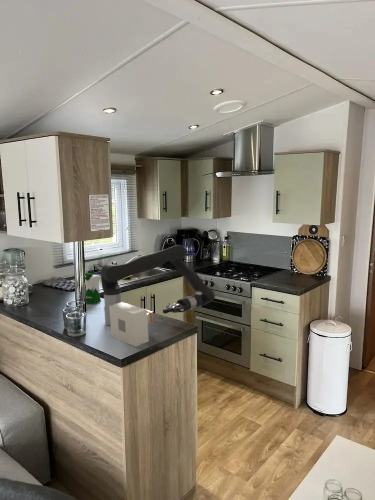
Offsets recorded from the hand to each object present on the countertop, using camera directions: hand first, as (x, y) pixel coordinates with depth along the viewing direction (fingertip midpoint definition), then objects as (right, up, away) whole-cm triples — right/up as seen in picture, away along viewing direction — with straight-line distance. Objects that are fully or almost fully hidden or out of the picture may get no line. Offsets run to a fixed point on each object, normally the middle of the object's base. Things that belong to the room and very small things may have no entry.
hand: (163, 311), depth 204 cm
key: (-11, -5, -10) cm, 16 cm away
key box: (-16, -11, -15) cm, 24 cm away
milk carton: (-50, -2, +51) cm, 72 cm away
